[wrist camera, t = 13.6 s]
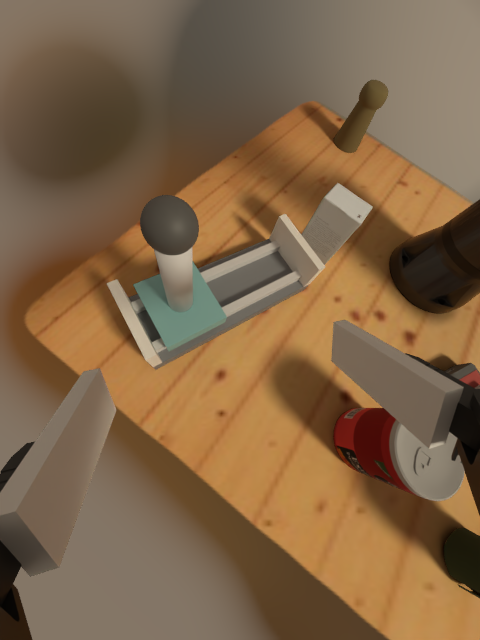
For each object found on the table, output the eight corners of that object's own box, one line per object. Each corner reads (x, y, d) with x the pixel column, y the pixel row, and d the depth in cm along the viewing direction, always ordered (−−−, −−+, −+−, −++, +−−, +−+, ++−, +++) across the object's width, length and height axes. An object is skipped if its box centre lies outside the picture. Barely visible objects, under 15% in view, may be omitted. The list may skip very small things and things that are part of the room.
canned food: (325, 456, 31) (388, 481, 21) (339, 398, 34) (400, 395, 24) (376, 481, 31) (465, 517, 21) (386, 420, 34) (467, 427, 24)
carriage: (192, 268, 33) (190, 143, 17) (225, 322, 31) (256, 237, 15) (136, 291, 30) (74, 170, 15) (168, 351, 29) (136, 285, 13)
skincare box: (328, 258, 43) (375, 207, 31) (316, 273, 41) (362, 224, 30) (301, 238, 43) (338, 180, 32) (289, 252, 41) (323, 197, 30)
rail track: (271, 243, 41) (285, 213, 35) (304, 289, 39) (325, 266, 33) (123, 307, 33) (106, 283, 26) (155, 369, 31) (145, 360, 24)
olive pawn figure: (345, 132, 57) (378, 72, 47) (362, 148, 56) (399, 91, 45) (328, 138, 55) (359, 76, 45) (345, 155, 54) (380, 97, 43)
